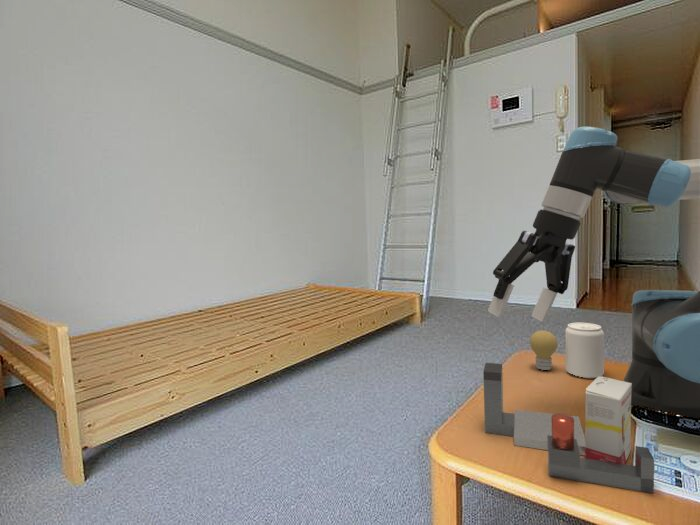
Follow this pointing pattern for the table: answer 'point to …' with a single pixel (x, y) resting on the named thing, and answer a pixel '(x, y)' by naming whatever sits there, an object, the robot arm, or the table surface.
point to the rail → (612, 472)
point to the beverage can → (585, 350)
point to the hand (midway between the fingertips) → (516, 317)
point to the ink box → (608, 420)
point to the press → (518, 416)
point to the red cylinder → (563, 442)
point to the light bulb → (543, 348)
